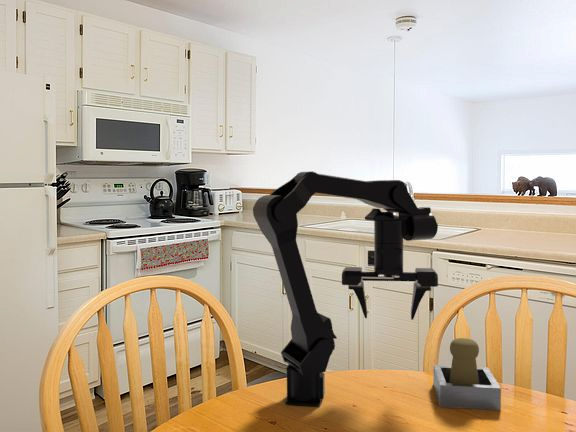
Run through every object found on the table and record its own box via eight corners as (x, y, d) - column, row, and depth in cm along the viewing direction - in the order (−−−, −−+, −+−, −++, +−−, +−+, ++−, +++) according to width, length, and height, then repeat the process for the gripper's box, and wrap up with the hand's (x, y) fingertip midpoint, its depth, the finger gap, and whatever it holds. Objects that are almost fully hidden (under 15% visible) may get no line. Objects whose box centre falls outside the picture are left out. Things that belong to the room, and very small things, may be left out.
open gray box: (440, 406, 93) (440, 385, 93) (433, 384, 103) (433, 365, 103) (500, 410, 91) (500, 388, 91) (487, 387, 102) (487, 367, 101)
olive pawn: (482, 404, 94) (483, 345, 93) (447, 401, 95) (448, 343, 95) (479, 391, 100) (479, 336, 99) (446, 389, 101) (446, 334, 100)
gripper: (431, 238, 110) (431, 310, 111) (344, 237, 113) (344, 307, 114) (438, 244, 99) (438, 324, 100) (341, 243, 102) (341, 321, 103)
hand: (388, 318), depth 105 cm, fingers open, 9 cm apart
